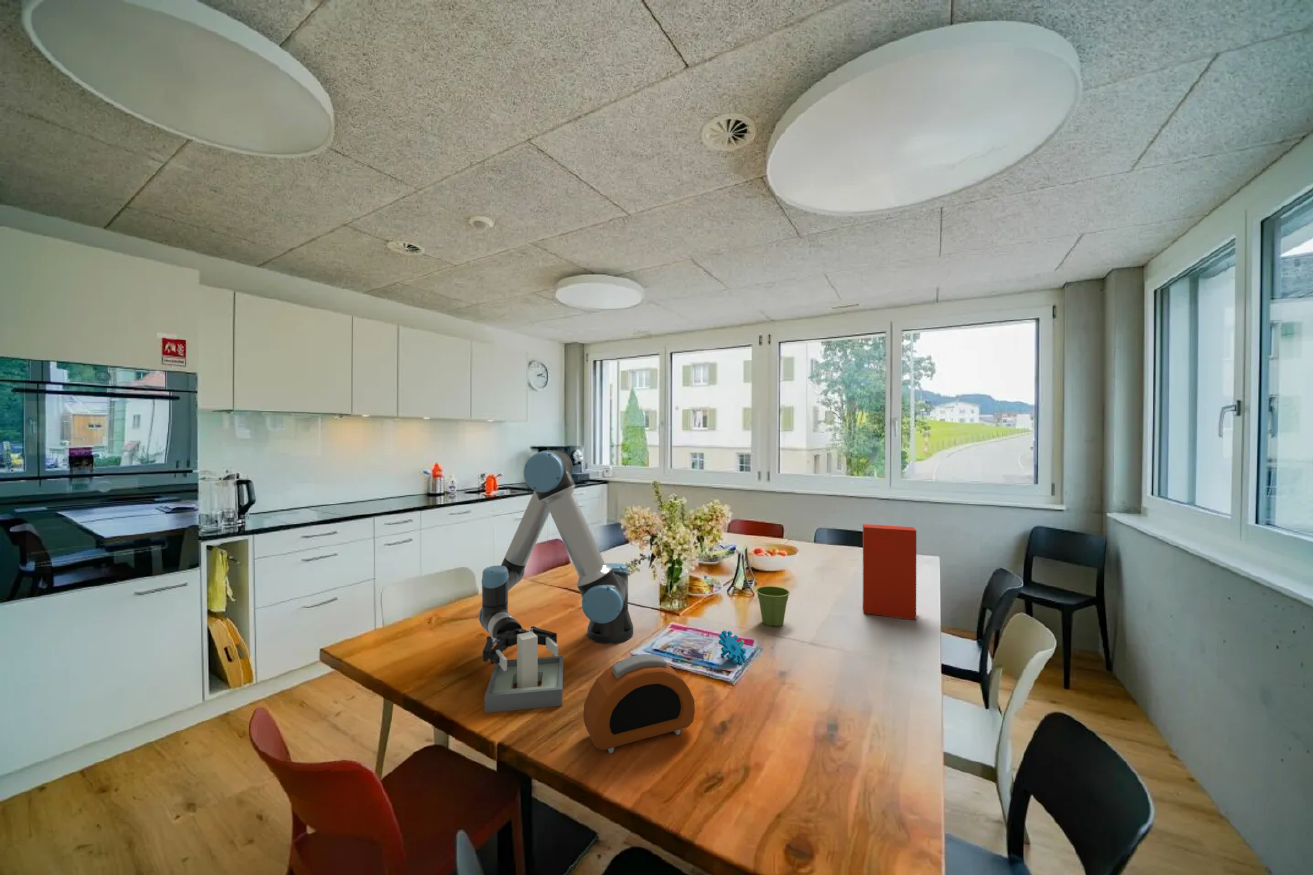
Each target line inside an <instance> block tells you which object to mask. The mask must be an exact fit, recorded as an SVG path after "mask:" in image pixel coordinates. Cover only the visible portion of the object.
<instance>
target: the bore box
mask: <svg viewBox="0 0 1313 875" xmlns="http://www.w3.org/2000/svg"><path fill="white" fill-rule="evenodd" d="M538 682H541V685H540V686H539V685H538V686H537V687H526V688H517V687H516V688H514V685H515V684H517V658H516V659H507V670H506V671H504V670H503V669H502V668H501V667H500V665H499V664H495V663H494V666H493V670H492V673H491V676H490V679H489V682H488V685H487V688H486V691H485V694H484V714H487V713H498V712H509V711H510V712H511V711H519V710H529V709H540V708H549V707H550V708H551V707H561V706H562V707H563V692H564V691H563V690H564V689H563V688H564V655H558V656H554V655H553V656H544V657H542V656H540V657H538Z"/></svg>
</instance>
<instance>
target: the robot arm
mask: <svg viewBox="0 0 1313 875" xmlns="http://www.w3.org/2000/svg"><path fill="white" fill-rule="evenodd" d="M573 468H574V466H573V462H572V460H571V458H570V456H569V455H568V454H567V453H565V452H564V451H563V450H558V449H551V450H542V451H539V452H537V453H534V454H533V455H531V456H530V457H529V458H528V459H527V461H526V463H525V465H524V468H523V478H524V481H525V483H526V485H527V486H528V487H529V488H531V490H533V493H532V496H531V497H530V500H529V502H528V505H527V506H526V509H525V511H524V513H523V516H522V518H521V520H520V522H519V524H518V526H517V529H516V531H515V533H514V536H513V538H512V539H511V542H510V544H509V547H508V549H507V551H506V553H505V556H504V558H503V560H502V562H501V565H491V566H488V567H485V568H484V569H483V570H482V578H481V598H482V600H481V609H480V610H479V612H478V621H479V623H480V625H481V627H482V628H483V629H484V630H485V631H486V632H487V633H488V634H489V635H490V636H487V637H486V643H485V645H484V648H483V650H482V662H487V661H488V660H490V664H492V665H493V664H494V665H495V664H499V665H500V667H501V668H502V669H503V670H504V671H506V670H507V660H508V658H507V657H506V656H505V655H504V654H503V652H504V651H506V650H507V649H508V648H510V647H512V646H517V635H518V634H522V633H527V632H531V631H532V632H533V633H534V634H536V635H537V636H538V645H540V646H545V648H546V649H547V650H548V651H549V652H550V653H551V654H552V655H553V656H559V644H558V643H557V642H558V639H557V638H558V634H557V632H553V631H550V630H547V629H546V630H545V629H543V628H538V627H536V626H535V625H533V626H532V625H531V626H530V629H527V630H526V629H524V628H523V627H522V625H521V623H519V621H517V620H516V618H514V617H513V616H512V615H511V614H510V613H509V591H510V590H511V589H513V587H514V586H516V585H517V584H518V583H519V582H520V581H521V580H522V578H524V575H525V573H526V572H525V569H526V566H527V564H528V562H529V560H530V557H531V555H532V552H533V551H534V548H535V546H536V544H537V542H538V539H539V538H540V535H541V534H542V530H543V529H544V526H545V524H546V521H547V520H548V518H549V515H551V518H552V520H553V523H554V524H555V526H556V528H557V530H558V533H559V535H560V537H561V538H560V539H561V540H562V542H563V544H564V547H565V549H566V551H567V553H568V555H569V558H570V560H571V563H572V565H573V566H574V569H575V571H576V574H577V576H578V579H577V582H576V586H577V588H578V591H579V594H580V595H581V598H582V600H581V608H582V612H583V614H584V615H585V616H586V618H587V619H589V622H588V625H587V629H586V630H587V632H586V633H587V636H586V637H588V639H589V640H591V641H592V642H596V643H601V644H617V643H622V642H625V641H628V640H629V639H631V638H632V637H633V636H634V624H633V622H632V618H631V615H630V613H629V575H630V574H629V567H628V566H627V565H626V564H624V563H613V562H611V563H605V561H604V559H603V557H602V554H601V552H600V549H599V548H598V545H597V543H596V541H595V538H594V537H593V534H592V531H591V530H590V527H589V525H588V522H587V520H586V519H585V516H584V514H583V512H582V509H581V507H580V505H579V502H578V501H577V498H576V496H575V493H574V490H575V488H576V483H575V481H574V479H573V477H572V475H573Z"/></svg>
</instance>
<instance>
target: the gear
mask: <svg viewBox="0 0 1313 875" xmlns="http://www.w3.org/2000/svg"><path fill="white" fill-rule="evenodd" d="M732 635H733V632H732V631H731V630H728V631H727V630H722V631H721V633H720V634H719V635H718V638H719V640H718V644H719V645H720V646H722V647H721V648H720V650H721V653H720V657H721V656H723V657H726V659H727V660H731V659H732V661H731V662H732V663H734V664H738V662H740V663H742V662H743V663H744V661H745V660H746V659H747V656H746V655H745V654H746V653H747V649H745V648H743V647H744V644H745V641H744V639H741V640H740V641H737V640H739V636H738V635H737V634H734V635H733V637H732ZM732 657H733V658H732ZM743 663H742V664H743Z"/></svg>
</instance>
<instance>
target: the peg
mask: <svg viewBox="0 0 1313 875" xmlns="http://www.w3.org/2000/svg"><path fill="white" fill-rule="evenodd" d="M538 649H539V646H538V636H537V635H536V634H534V633H533V632H532V631H531V632H527V633H522V634H518V635H517V644H516V659H517V683H516V688H526V687H537V686H539V685H538V684H539V683H538V682H539V681H538V658H539V657H538V653H539V652H538V651H539V650H538Z"/></svg>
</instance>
